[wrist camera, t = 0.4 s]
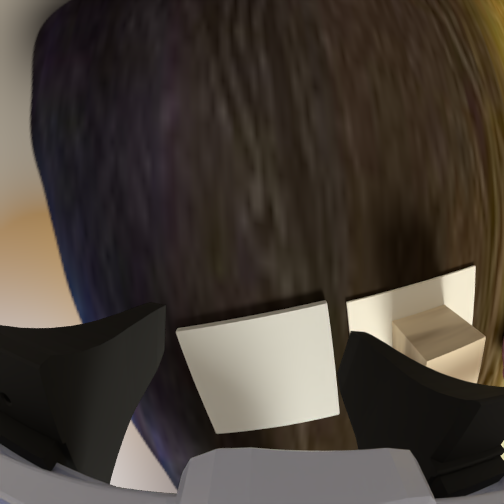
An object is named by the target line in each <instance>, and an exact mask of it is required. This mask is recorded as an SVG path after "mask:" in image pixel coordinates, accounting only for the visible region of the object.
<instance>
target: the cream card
mask: <svg viewBox="0 0 504 504" xmlns="http://www.w3.org/2000/svg"><path fill="white" fill-rule="evenodd" d="M474 292H475V265H473V266H470V267H467V268H464V269H461V270H458V271H455V272H451V273H448V274H445V275H442V276H439V277H435V278H432V279H429V280H425V281H422V282H418V283H415V284H411V285H408V286H404V287H401V288H397V289H394V290H390V291H386V292H382V293H379V294H375V295H371V296H367V297H363V298H359V299H355V300H351V301H347V302H346V306H347V315H348V324H349V334H350V332H351V331H360V332H366V333H369V334H371V335H373V336H375V337H376V338H378V339H380V340H381V341H383V342H385V343H386V344H388V345H389V346H391V347H393V339H392V321H394V320H398V319H401V318H404V317H408V316H411V315H414V314H417V313H420V312H423V311H426V310H429V309H432V308H435V307H438V306H441V305H446V306H447V307H448V308H450V309H451V310H452V311H454V312H455V313H456V314H458V315H459V316H460V317H461V318H463V319H464V320H465V321H467V322H468V323H469V324H470V325H472V319H473V308H474Z"/></svg>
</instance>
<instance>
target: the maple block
mask: <svg viewBox="0 0 504 504" xmlns="http://www.w3.org/2000/svg"><path fill="white" fill-rule="evenodd" d="M485 338H486V336H484V335H483V334H482V333H481V332H479V331H478V330H477V329H476V328H474V327H473V326H472V325H470V324H469V323H468V322H467V321H465V320H464V319H463V318H461V317H460V316H459V315H458V314H456V313H455V312H454V311H452V310H451V309H450V308H448V307H447V306H446V305H441V306H438V307H435V308H432V309H429V310H426V311H423V312H420V313H417V314H414V315H411V316H408V317H404V318H401V319H398V320H394V321H392V339H393V348H394V349H396V350H397V351H399V352H401V353H402V354H404V355H406V356H407V357H409V358H411V359H413V360H415V361H416V362H418V363H420V364H422V365H424V366H426V367H428V368H431V369H433V370H435V371H438V372H440V373H442V374H445V375H448V376H451V377H454V378H457V379H460V380H464V381H468V382H472V383H477V380H478V375H479V371H480V366H481V361H482V356H483V350H484V344H485Z"/></svg>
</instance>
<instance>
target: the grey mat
mask: <svg viewBox="0 0 504 504" xmlns="http://www.w3.org/2000/svg"><path fill="white" fill-rule="evenodd" d="M176 335H177V337H178V340H179V343H180V346H181V348H182V351H183V354H184V357H185V359H186V362H187V364H188V367H189V370H190V372H191V375H192V377H193V380H194V382H195V385H196V387H197V390H198V392H199V395H200V397H201V399H202V402H203V404H204V407H205V409H206V411H207V414H208V416H209V418H210V420H211V423H212V425H213V427H214V429H215V432H216V434H221V433H232V432H242V431H250V430H258V429H265V428H272V427H279V426H285V425H290V424H296V423H301V422H306V421H311V420H316V419H321V418H325V417H329V416H334V415H338V414H339V403H338V392H337V382H336V372H335V362H334V353H333V345H332V337H331V329H330V321H329V314H328V307H327V302H326V301H325V300H324V301H319V302H315V303H310V304H306V305H301V306H296V307H292V308H287V309H282V310H277V311H272V312H267V313H262V314H257V315H252V316H247V317H241V318H236V319H230V320H225V321H219V322H213V323H207V324H201V325H195V326H188V327H182V328H177V330H176Z"/></svg>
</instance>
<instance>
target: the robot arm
mask: <svg viewBox="0 0 504 504" xmlns="http://www.w3.org/2000/svg"><path fill="white" fill-rule="evenodd" d="M165 315H166V305H162V304H157V303H152V302H150V303H146V304H143V305H140V306H137V307H135V308H132V309H129V310H127V311H124V312H121V313H119V314H116V315H113V316H110V317H107V318H103V319H100V320H97V321H93V322H89V323H85V324H80V325H74V326H66V327H56V328H18V327H10V326H2V325H0V504H504V460H503V459H502V458H501V456H500V455H502V454H503V453H504V448H503V447H502V446H501V443H502V442H503V441H504V387H497V386H488V385H482V384H477V383H472V382H468V381H464V380H460V379H457V378H454V377H451V376H448V375H445V374H442V373H440V372H438V371H435V370H433V369H431V368H428V367H426V366H424V365H422V364H420V363H418V362H416V361H415V360H413V359H411V358H409V357H407V356H406V355H404V354H402V353H401V352H399V351H397V350H396V349H394V348H393V347H391V346H389V345H388V344H386V343H385V342H383V341H381V340H380V339H378V338H376V337H375V336H373V335H371V334H369V333H366V332H360V331H351V332H350V336H349V339H348V342H347V345H346V349H345V352H344V355H343V358H342V361H341V364H340V367H339V370H338V373H337V374H338V380H339V386H340V392H341V395H342V398H343V401H344V404H345V407H346V410H347V413H348V416H349V419H350V421H351V424H352V427H353V430H354V433H355V436H356V440H357V444H358V450H344V451H297V450H277V449H264V448H253V447H247V448H218V449H215V450H212V451H210V452H207V453H204V454H201V455H199V456H196V457H193V458H191V459H190V460H189V462H188V464H187V466H186V467H185V469H184V471H183V472H182V476H181V480H180V484H179V488H178V492H177V494H174V493H162V492H151V491H142V490H134V489H127V488H121V487H116V486H113V485H110V480H111V476H112V473H113V469H114V466H115V463H116V459H117V456H118V453H119V450H120V447H121V444H122V441H123V438H124V435H125V433H126V430H127V427H128V425H129V422H130V420H131V417H132V415H133V413H134V411H135V409H136V407H137V405H138V403H139V401H140V400H141V398H142V396H143V394H144V393H145V391H146V389H147V387H148V385H149V384H150V382H151V380H152V378H153V377H154V375H155V373H156V371H157V369H158V366H159V364H160V361H161V359H162V356H163V353H164V348H165Z"/></svg>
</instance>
